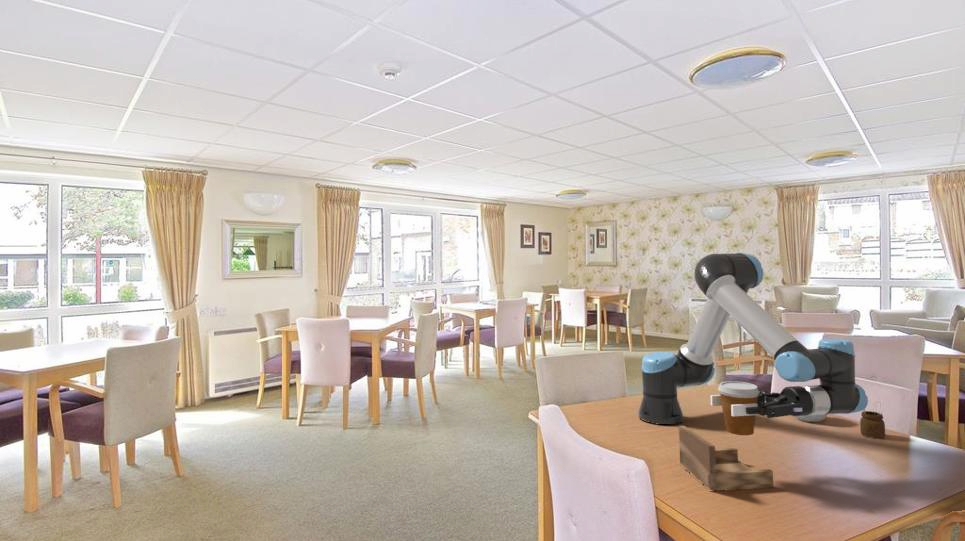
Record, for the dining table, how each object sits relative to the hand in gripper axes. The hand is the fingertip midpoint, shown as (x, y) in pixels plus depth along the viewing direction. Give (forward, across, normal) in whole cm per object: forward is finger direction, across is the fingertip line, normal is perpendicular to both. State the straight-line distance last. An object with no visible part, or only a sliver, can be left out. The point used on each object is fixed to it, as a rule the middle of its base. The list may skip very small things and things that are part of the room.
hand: (721, 405), depth 120 cm
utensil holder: (-62, +20, -19) cm, 68 cm away
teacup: (-55, +39, -19) cm, 70 cm away
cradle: (-1, +1, -19) cm, 19 cm away
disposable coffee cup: (-5, 0, -7) cm, 9 cm away
